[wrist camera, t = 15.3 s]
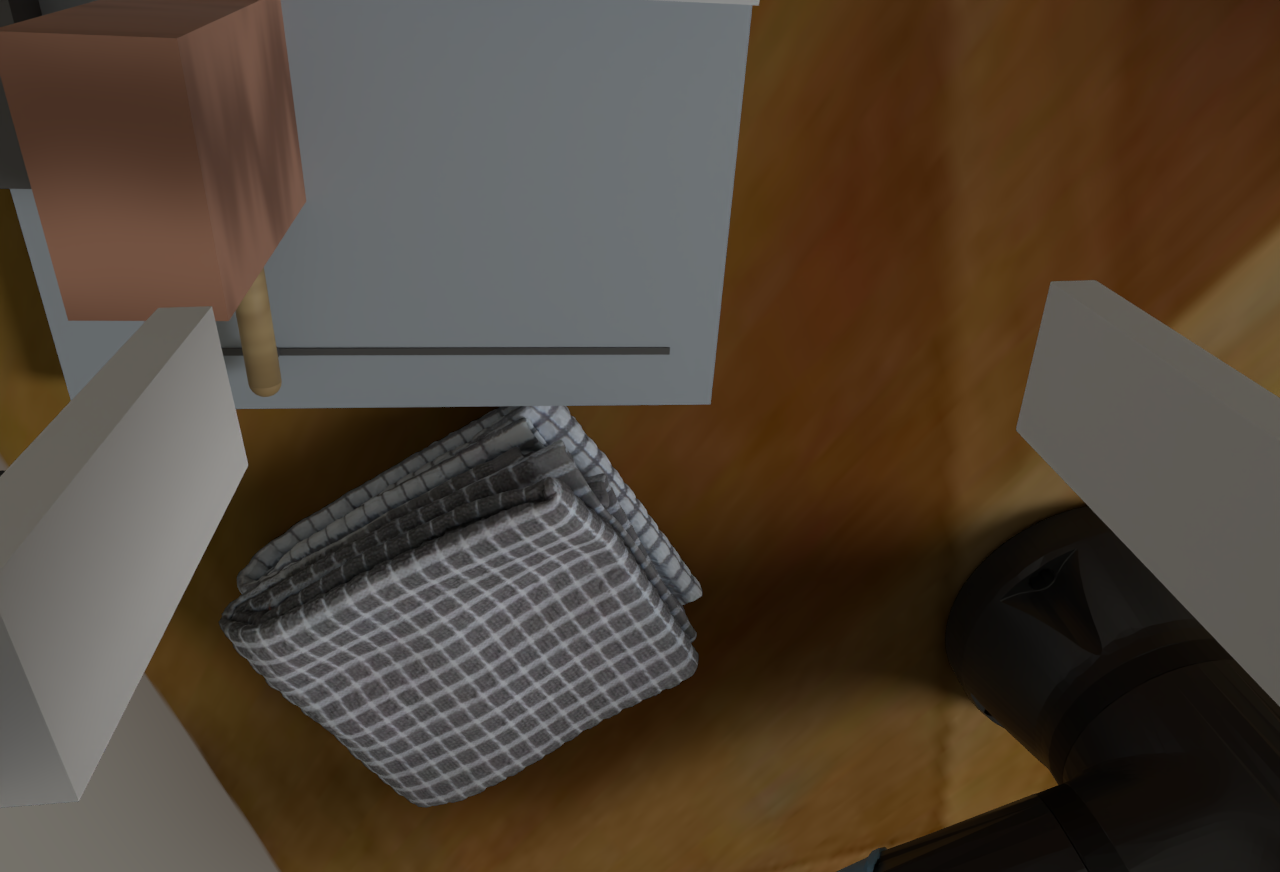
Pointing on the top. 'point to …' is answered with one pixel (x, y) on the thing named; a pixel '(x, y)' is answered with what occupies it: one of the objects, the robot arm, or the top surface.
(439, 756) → the towel
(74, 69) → the brown blocky piece
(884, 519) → the top surface
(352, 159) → the board
